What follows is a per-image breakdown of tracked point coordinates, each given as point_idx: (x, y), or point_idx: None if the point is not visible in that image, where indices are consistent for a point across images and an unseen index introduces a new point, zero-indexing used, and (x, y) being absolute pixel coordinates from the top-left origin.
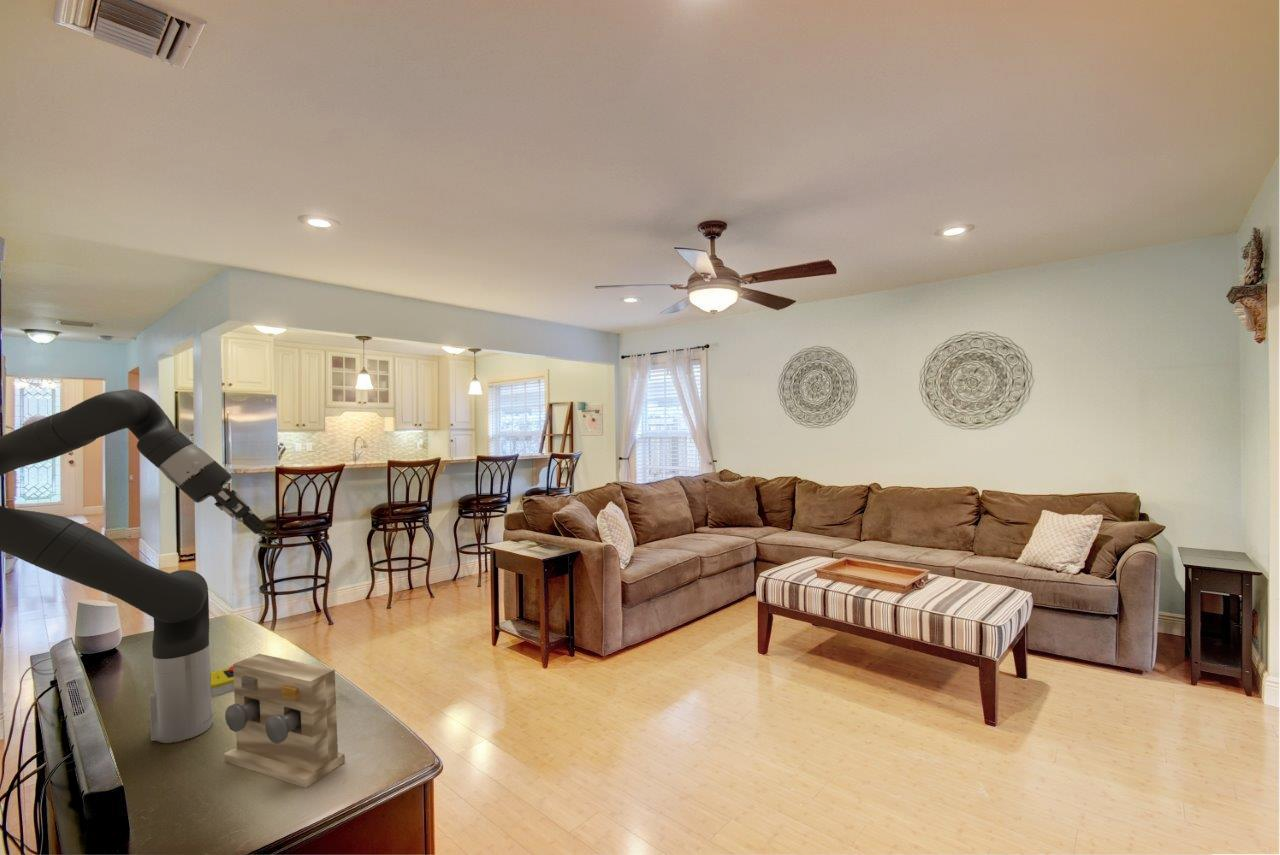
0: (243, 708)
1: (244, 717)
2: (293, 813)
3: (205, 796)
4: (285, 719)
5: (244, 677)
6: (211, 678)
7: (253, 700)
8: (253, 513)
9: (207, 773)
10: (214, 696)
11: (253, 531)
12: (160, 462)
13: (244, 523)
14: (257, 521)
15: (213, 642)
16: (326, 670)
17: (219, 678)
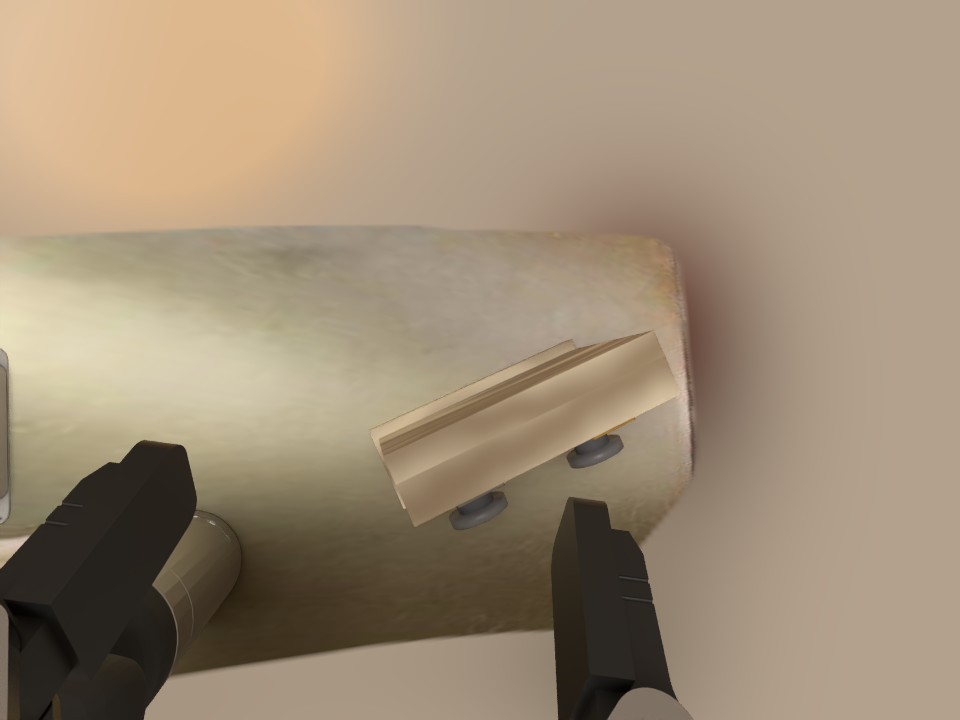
0: (484, 498)
1: (505, 497)
2: (649, 441)
3: (503, 543)
4: (603, 436)
5: (466, 501)
6: None
7: None
8: (633, 673)
9: (425, 535)
10: (9, 491)
11: (178, 541)
12: None
13: (104, 652)
14: (646, 602)
15: None
16: (645, 346)
17: None
